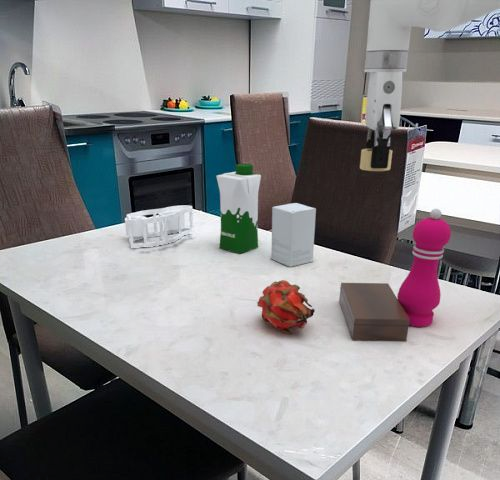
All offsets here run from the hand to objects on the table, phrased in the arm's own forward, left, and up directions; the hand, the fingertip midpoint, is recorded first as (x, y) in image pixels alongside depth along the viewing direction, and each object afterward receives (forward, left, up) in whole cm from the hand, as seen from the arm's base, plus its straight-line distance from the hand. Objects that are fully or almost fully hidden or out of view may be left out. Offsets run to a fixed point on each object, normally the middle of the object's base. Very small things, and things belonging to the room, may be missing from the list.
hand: (375, 164), depth 101 cm
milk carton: (+28, -18, -24) cm, 41 cm away
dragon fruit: (+18, +26, -24) cm, 40 cm away
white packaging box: (+15, -9, -24) cm, 30 cm away
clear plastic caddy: (+49, -25, -24) cm, 60 cm away
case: (+3, +23, -23) cm, 33 cm away
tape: (0, 0, -1) cm, 1 cm away
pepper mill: (-5, +23, -24) cm, 33 cm away
